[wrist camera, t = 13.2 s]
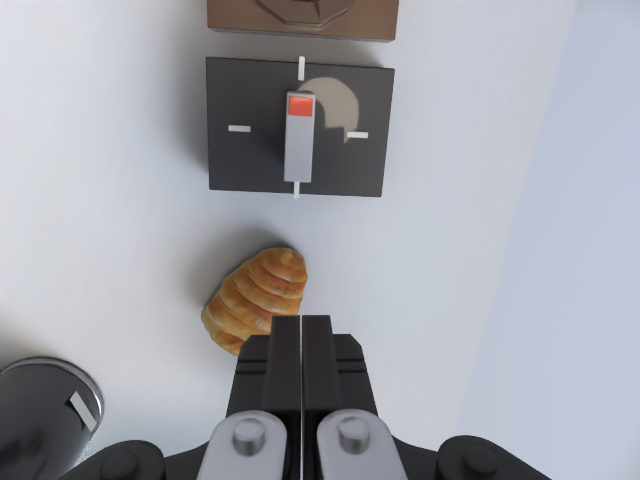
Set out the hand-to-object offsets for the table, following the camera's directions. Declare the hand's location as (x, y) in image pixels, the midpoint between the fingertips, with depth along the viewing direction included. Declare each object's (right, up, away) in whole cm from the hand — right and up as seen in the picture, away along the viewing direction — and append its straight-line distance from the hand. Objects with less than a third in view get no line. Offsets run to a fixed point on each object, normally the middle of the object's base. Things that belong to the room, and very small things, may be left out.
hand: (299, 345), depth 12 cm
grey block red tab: (-1, +10, +18) cm, 20 cm away
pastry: (-5, -2, +25) cm, 25 cm away
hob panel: (-1, +11, +20) cm, 23 cm away
